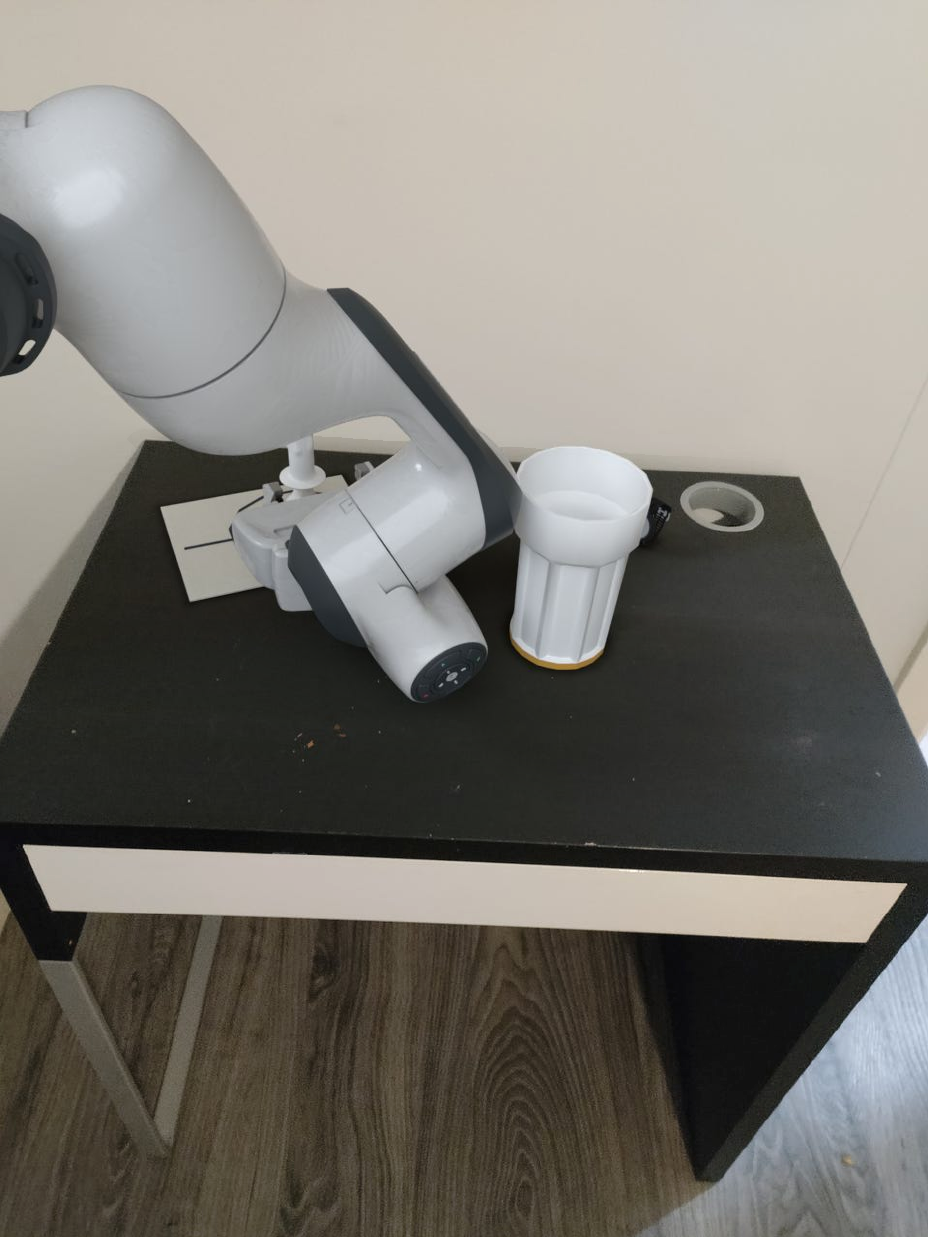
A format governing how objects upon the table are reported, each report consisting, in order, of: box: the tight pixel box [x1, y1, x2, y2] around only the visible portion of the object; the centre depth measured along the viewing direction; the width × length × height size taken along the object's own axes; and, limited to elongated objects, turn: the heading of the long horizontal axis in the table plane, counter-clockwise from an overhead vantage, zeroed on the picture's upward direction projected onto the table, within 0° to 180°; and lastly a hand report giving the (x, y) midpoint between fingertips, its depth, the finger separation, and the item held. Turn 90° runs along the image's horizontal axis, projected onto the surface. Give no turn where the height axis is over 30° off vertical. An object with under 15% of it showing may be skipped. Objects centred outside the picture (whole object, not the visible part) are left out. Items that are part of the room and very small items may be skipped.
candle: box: [279, 434, 327, 501], centre depth 95 cm, size 5×5×12 cm
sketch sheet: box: [160, 474, 349, 603], centre depth 97 cm, size 20×16×1 cm
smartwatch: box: [638, 496, 673, 547], centre depth 98 cm, size 4×5×5 cm
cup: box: [509, 445, 654, 671], centre depth 82 cm, size 11×11×17 cm
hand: (316, 478), depth 91 cm, fingers open, 8 cm apart
